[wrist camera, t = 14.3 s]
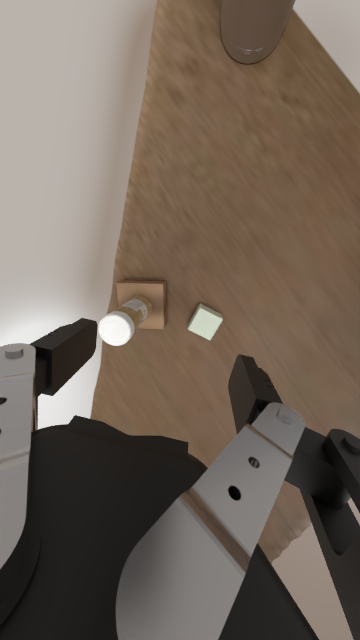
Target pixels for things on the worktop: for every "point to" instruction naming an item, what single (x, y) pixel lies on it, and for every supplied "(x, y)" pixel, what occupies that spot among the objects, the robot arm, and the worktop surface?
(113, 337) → the sprinkles bottle
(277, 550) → the worktop surface
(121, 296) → the walnut block
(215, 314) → the sage block
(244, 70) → the worktop surface
